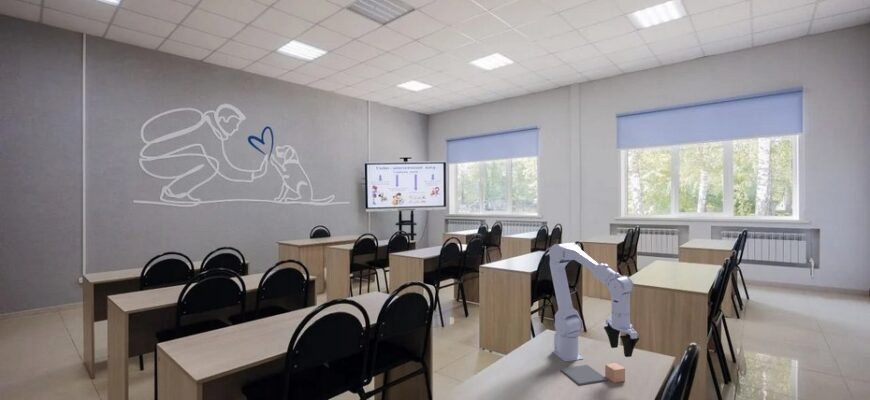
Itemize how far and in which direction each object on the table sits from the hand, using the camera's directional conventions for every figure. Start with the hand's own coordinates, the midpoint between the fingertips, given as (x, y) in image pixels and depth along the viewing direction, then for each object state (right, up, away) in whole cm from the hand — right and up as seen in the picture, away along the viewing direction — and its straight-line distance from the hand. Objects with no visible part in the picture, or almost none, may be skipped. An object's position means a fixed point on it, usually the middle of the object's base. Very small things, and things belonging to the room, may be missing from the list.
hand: (621, 351), depth 136 cm
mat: (-12, -10, +3) cm, 15 cm away
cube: (-2, -10, +1) cm, 10 cm away
